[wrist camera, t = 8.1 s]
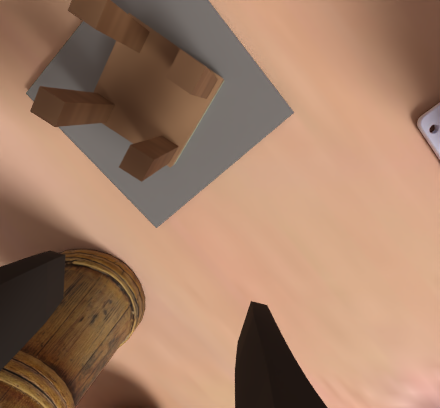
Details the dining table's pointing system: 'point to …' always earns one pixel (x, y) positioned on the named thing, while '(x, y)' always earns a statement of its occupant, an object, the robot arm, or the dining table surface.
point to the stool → (136, 91)
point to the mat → (209, 125)
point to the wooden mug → (75, 334)
